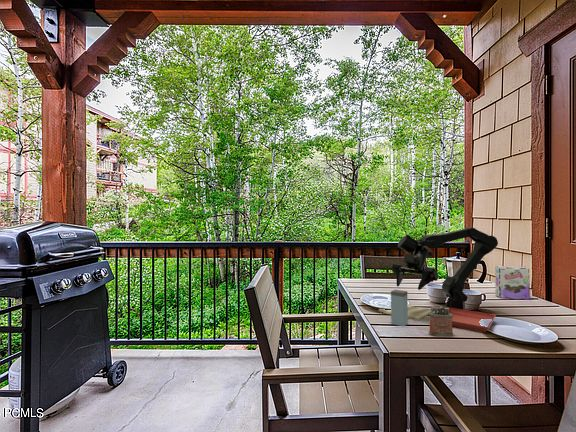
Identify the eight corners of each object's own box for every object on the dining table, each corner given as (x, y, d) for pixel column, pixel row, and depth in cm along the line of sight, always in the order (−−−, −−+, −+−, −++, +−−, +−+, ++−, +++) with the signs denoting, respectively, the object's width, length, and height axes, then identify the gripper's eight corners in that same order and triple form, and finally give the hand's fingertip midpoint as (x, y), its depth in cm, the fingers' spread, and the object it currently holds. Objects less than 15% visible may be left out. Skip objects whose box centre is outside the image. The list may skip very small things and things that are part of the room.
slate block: (407, 324, 122) (407, 291, 122) (403, 326, 119) (403, 293, 120) (395, 321, 126) (395, 289, 126) (391, 323, 123) (390, 291, 123)
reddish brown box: (450, 333, 112) (450, 305, 112) (454, 336, 109) (454, 308, 109) (427, 332, 113) (427, 305, 113) (431, 336, 109) (430, 308, 109)
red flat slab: (489, 336, 110) (489, 326, 110) (435, 325, 122) (435, 316, 122) (496, 323, 124) (496, 314, 124) (447, 314, 135) (447, 306, 135)
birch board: (432, 312, 137) (432, 310, 138) (418, 320, 126) (418, 318, 126) (394, 304, 150) (394, 302, 150) (378, 311, 139) (378, 309, 139)
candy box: (499, 298, 161) (498, 267, 161) (495, 295, 167) (494, 265, 167) (530, 300, 157) (529, 268, 157) (525, 297, 163) (524, 266, 163)
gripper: (392, 245, 139) (380, 273, 131) (435, 248, 125) (424, 278, 117) (401, 261, 144) (389, 288, 136) (442, 265, 130) (432, 295, 123)
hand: (407, 287), depth 128 cm, fingers open, 9 cm apart
